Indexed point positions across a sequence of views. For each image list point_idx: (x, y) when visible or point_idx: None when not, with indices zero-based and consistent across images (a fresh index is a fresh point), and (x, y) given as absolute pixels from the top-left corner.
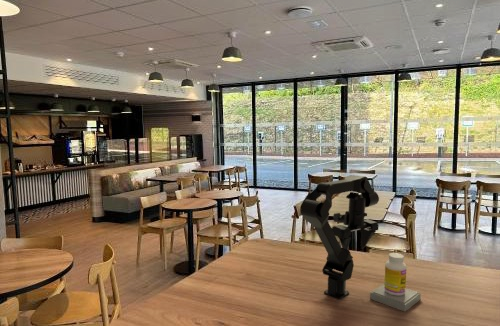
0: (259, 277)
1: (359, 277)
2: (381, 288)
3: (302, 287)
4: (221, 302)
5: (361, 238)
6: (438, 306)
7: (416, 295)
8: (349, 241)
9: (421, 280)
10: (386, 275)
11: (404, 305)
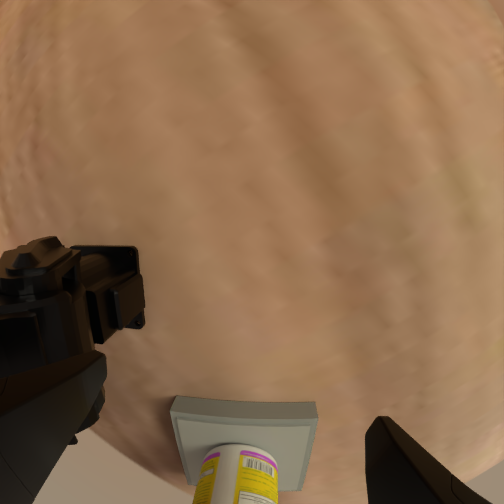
0: (50, 15)
1: (347, 271)
2: (231, 431)
3: (57, 151)
4: None
5: (418, 487)
6: (290, 498)
7: None
8: (26, 496)
9: (445, 422)
10: (195, 501)
11: (188, 481)
